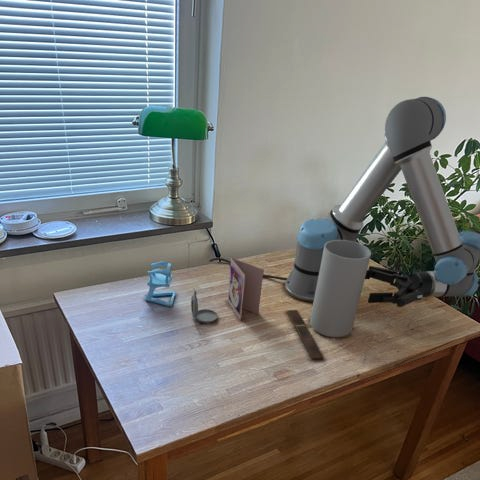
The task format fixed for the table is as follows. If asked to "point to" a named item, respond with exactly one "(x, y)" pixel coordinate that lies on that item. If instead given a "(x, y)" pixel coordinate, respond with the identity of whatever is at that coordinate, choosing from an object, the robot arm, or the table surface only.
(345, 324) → the cylinder vase
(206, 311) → the pocket watch
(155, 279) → the chair
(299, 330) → the ruler
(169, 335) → the table surface
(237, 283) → the greeting card
